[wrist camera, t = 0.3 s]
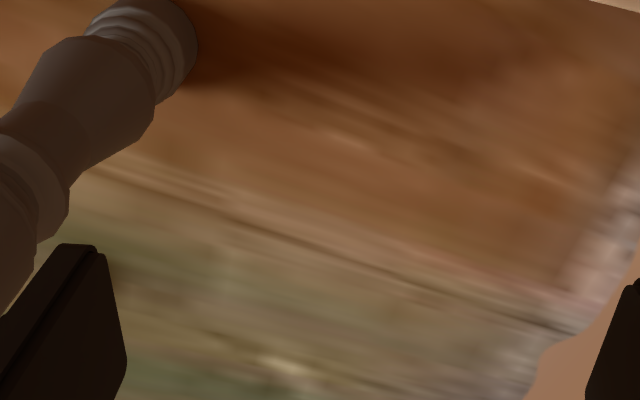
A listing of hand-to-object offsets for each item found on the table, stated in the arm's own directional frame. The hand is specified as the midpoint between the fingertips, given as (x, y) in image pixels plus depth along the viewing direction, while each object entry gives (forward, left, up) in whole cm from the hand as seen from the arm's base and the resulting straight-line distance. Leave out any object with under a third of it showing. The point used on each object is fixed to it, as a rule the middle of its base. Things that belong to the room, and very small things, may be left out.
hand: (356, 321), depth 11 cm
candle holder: (+7, -12, -29) cm, 32 cm away
